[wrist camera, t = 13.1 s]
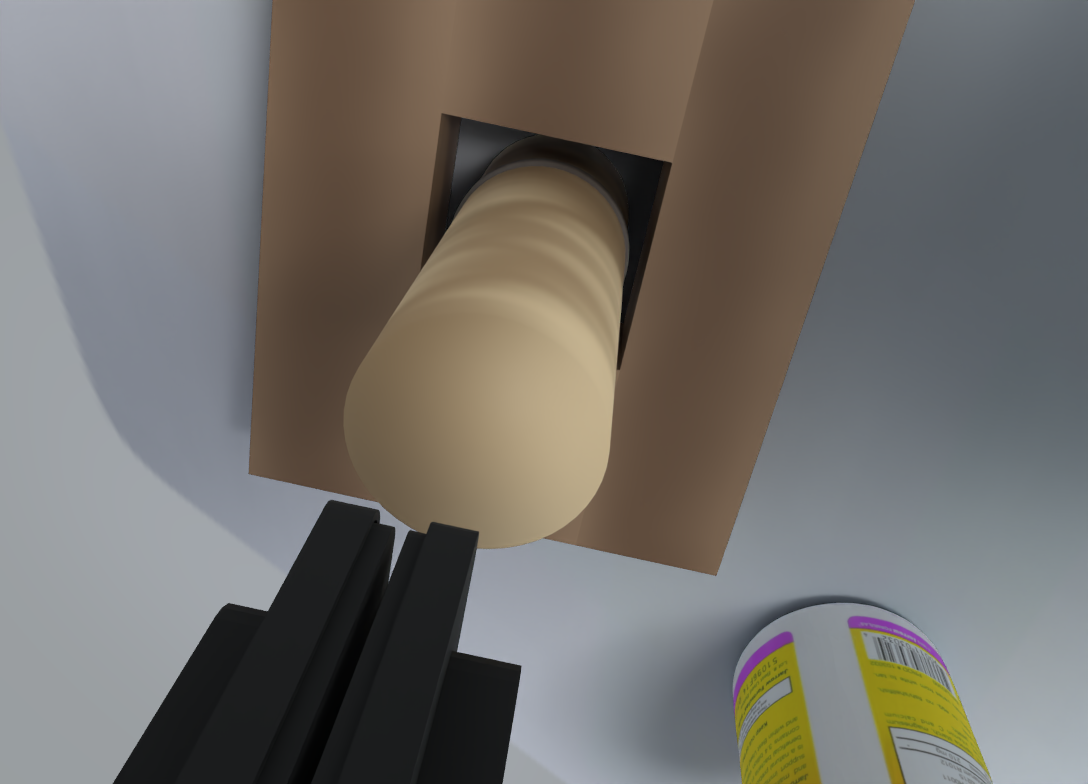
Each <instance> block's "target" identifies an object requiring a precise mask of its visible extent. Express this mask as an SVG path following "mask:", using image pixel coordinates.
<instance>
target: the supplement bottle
mask: <svg viewBox="0 0 1088 784" xmlns="http://www.w3.org/2000/svg"><path fill="white" fill-rule="evenodd" d="M733 703H734V714H735V724H736V733H737V742H738V750H739V759H740V768H741V778H742V784H993V782H992V780H991V777H990V775H989V772H988V769H987V767H986V764H985V762H984V759H983V757H982V754H981V752H980V749H979V747H978V744H977V742H976V739H975V737H974V735H973V732H972V729H971V727H970V724H969V722H968V719H967V717H966V714H965V711H964V709H963V707H962V704H961V701H960V699H959V696H958V694H957V691H956V689H955V687H954V684H953V682H952V679H951V677H950V674H949V672H948V670H947V668H946V666H945V664H944V662H943V660H942V658H941V656H940V654H939V652H938V651H937V649H936V648H935V646H934V645H933V643H932V642H931V641H930V640H929V639H928V638H927V636H926V635H925V634H924V633H923V632H922V631H920V630H919V629H918V628H917V627H916V626H914V625H913V624H912V623H910V622H909V621H907V620H905V619H904V618H902V617H900V616H898V615H896V614H894V613H891V612H889V611H886V610H884V609H881V608H877V607H874V606H869V605H864V604H856V603H830V604H822V605H816V606H811V607H806V608H803V609H800V610H797V611H794V612H791V613H789V614H787V615H784V616H782V617H780V618H778V619H777V620H775V621H773V622H772V623H770V624H769V625H768V626H766V627H765V628H763V629H762V630H761V631H760V632H759V633H758V634H757V635H756V636H755V637H754V638H753V639H752V640H751V641H750V642H749V644H748V645H747V647H746V648H745V649H744V651H743V653H742V654H741V656H740V659H739V661H738V663H737V666H736V670H735V673H734V679H733Z"/></svg>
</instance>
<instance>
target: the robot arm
mask: <svg viewBox="0 0 1088 784" xmlns="http://www.w3.org/2000/svg"><path fill="white" fill-rule="evenodd" d="M379 523H380V512H379V510H376V509H372V508H367V507H362V506H358V505H353V504H348V503H344V502H339V501H334V500H330V501H328V503H327V504H326V506H325V507H324V509H323V511H322V513H321V515H320V516H319V518H318V520H317V522H316V524H315V526H314V527H313V529H312V531H311V533H310V535H309V537H308V538H307V540H306V542H305V544H304V546H303V548H302V549H301V551H300V553H299V555H298V557H297V559H296V561H295V562H294V564H293V566H292V568H291V570H290V572H289V573H288V575H287V577H286V579H285V581H284V583H283V584H282V586H281V588H280V590H279V592H278V594H277V596H276V597H275V599H274V601H273V603H272V605H271V607H270V608H269V610H268V611H263V610H258V609H253V608H249V607H244V606H240V605H235V604H230V603H228V604H227V605H225V606H224V607H222V609H221V610H220V611H219V613H218V614H217V615H216V617H215V618H214V620H213V621H212V623H211V624H210V626H209V628H208V629H207V631H206V633H205V634H204V636H203V637H202V639H201V641H200V642H199V644H198V646H197V647H196V649H195V651H194V652H193V654H192V656H191V657H190V659H189V660H188V662H187V664H186V665H185V667H184V669H183V670H182V672H181V673H180V675H179V677H178V678H177V680H176V682H175V683H174V685H173V686H172V688H171V690H170V691H169V693H168V695H167V696H166V698H165V699H164V701H163V703H162V704H161V706H160V708H159V709H158V711H157V712H156V714H155V716H154V717H153V719H152V721H151V722H150V724H149V725H148V727H147V729H146V730H145V732H144V734H143V735H142V737H141V739H140V740H139V742H138V744H137V745H136V747H135V748H134V750H133V752H132V753H131V755H130V757H129V758H128V760H127V761H126V763H125V765H124V766H123V768H122V770H121V771H120V773H119V774H118V776H117V778H116V779H115V781H114V783H113V784H502V783H503V777H504V771H505V765H506V759H507V753H508V747H509V741H510V735H511V729H512V723H513V717H514V711H515V705H516V699H517V693H518V687H519V681H520V674H521V666H520V665H515V664H511V663H506V662H501V661H497V660H492V659H487V658H483V657H478V656H473V655H469V654H464V653H459V652H457V648H458V643H459V638H460V633H461V628H462V622H463V617H464V612H465V607H466V602H467V596H468V591H469V586H470V581H471V576H472V570H473V565H474V560H475V555H476V550H477V544H478V539H479V531H474V530H470V529H465V528H460V527H456V526H451V525H446V524H442V523H437V522H431V523H430V525H429V528H428V531H427V533H426V534H425V533H420V532H416V531H411V530H410V531H409V532H408V534H407V536H406V539H405V542H404V544H403V547H402V549H401V552H400V555H399V557H398V560H397V562H396V565H395V568H394V570H393V573H392V575H391V578H390V581H389V574H390V567H391V560H392V553H393V546H394V539H395V527H392V526H388V525H383V524H379ZM388 581H389V583H388Z"/></svg>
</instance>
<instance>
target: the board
mask: <svg viewBox="0 0 1088 784" xmlns="http://www.w3.org/2000/svg"><path fill="white" fill-rule="evenodd" d="M914 2H915V0H273V2H272V22H271V42H270V62H269V82H268V101H267V121H266V141H265V161H264V180H263V200H262V220H261V240H260V260H259V279H258V299H257V319H256V339H255V359H254V378H253V398H252V418H251V438H250V457H249V474H251V475H256V476H260V477H265V478H269V479H274V480H279V481H283V482H288V483H292V484H297V485H302V486H306V487H311V488H315V489H320V490H324V491H329V492H334V493H338V494H343V495H347V496H352V497H357V498H361V499H366V500H370V501H375V502H378V501H377V500H376V499H375V498H374V497H373V496H372V495H371V493H370V492H369V491H368V489H367V488H366V487H365V485H364V484H363V482H362V481H361V479H360V477H359V476H358V474H357V472H356V470H355V468H354V466H353V463H352V461H351V458H350V456H349V453H348V449H347V445H346V441H345V434H344V426H343V424H344V407H345V401H346V396H347V392H348V390H349V387H350V384H351V381H352V379H353V377H354V375H355V373H356V371H357V369H358V368H359V366H360V364H361V363H362V361H363V360H364V358H365V357H366V355H367V354H368V352H369V350H370V349H371V347H372V346H373V344H374V343H375V341H376V340H377V338H378V337H379V335H380V333H381V332H382V330H383V329H384V327H385V326H386V324H387V323H388V321H389V319H390V318H391V316H392V315H393V313H394V312H395V310H396V309H397V307H398V306H399V304H400V302H401V301H402V299H403V298H404V296H405V295H406V293H407V292H408V290H409V289H410V287H411V285H412V284H413V282H414V281H415V279H416V278H417V276H418V275H419V273H420V272H421V270H422V268H423V267H424V265H425V264H426V262H427V261H428V259H429V258H430V256H431V254H432V253H433V251H434V250H435V248H436V247H437V245H438V244H439V242H440V241H441V239H442V237H443V236H444V234H445V228H446V221H447V215H448V208H449V201H450V194H451V187H452V180H453V173H454V166H455V159H456V153H457V146H458V139H459V132H460V125H461V118H467V119H471V120H476V121H481V122H485V123H490V124H495V125H499V126H504V127H508V128H513V129H518V130H522V131H527V132H532V133H536V134H541V135H546V136H550V137H555V138H560V139H564V140H569V141H574V142H578V143H583V144H588V145H592V146H597V147H601V148H606V149H611V150H615V151H620V152H625V153H629V154H634V155H639V156H643V157H648V158H653V159H657V160H662V161H664V162H663V166H662V170H661V174H660V178H659V182H658V186H657V190H656V194H655V198H654V202H653V206H652V210H651V214H650V218H649V222H648V226H647V230H646V235H645V239H644V243H643V247H642V251H641V255H640V259H639V263H638V267H637V271H636V275H635V279H634V283H633V287H632V291H631V295H630V299H629V303H628V307H627V311H626V315H625V319H624V323H620V330H619V342H618V354H617V367H616V379H615V391H614V403H613V416H612V428H611V440H610V452H609V458H608V463H607V468H606V471H605V474H604V477H603V480H602V482H601V484H600V486H599V488H598V490H597V492H596V494H595V495H594V497H593V498H592V500H591V501H590V502H589V504H588V505H587V506H586V508H585V509H584V510H583V511H582V512H581V513H580V514H579V515H578V516H577V517H576V518H575V519H573V520H572V521H571V522H569V523H568V524H567V525H566V526H564V527H563V528H561V529H559V530H558V531H556V532H554V533H553V534H551V535H549V536H546V537H544V538H545V539H550V540H554V541H559V542H563V543H568V544H573V545H577V546H582V547H586V548H591V549H595V550H600V551H605V552H609V553H614V554H618V555H623V556H628V557H632V558H637V559H641V560H646V561H651V562H655V563H660V564H664V565H669V566H674V567H678V568H683V569H687V570H692V571H697V572H701V573H706V574H710V575H715V576H716V575H717V572H718V570H719V567H720V564H721V561H722V558H723V555H724V552H725V549H726V546H727V544H728V541H729V538H730V535H731V532H732V529H733V526H734V523H735V520H736V517H737V515H738V512H739V509H740V506H741V503H742V500H743V497H744V494H745V491H746V489H747V486H748V483H749V480H750V477H751V474H752V471H753V468H754V465H755V462H756V460H757V457H758V454H759V451H760V448H761V445H762V442H763V439H764V436H765V433H766V431H767V428H768V425H769V422H770V419H771V416H772V413H773V410H774V407H775V405H776V402H777V399H778V396H779V393H780V390H781V387H782V384H783V381H784V378H785V376H786V373H787V370H788V367H789V364H790V361H791V358H792V355H793V352H794V350H795V347H796V344H797V341H798V338H799V335H800V332H801V329H802V326H803V323H804V321H805V318H806V315H807V312H808V309H809V306H810V303H811V300H812V297H813V295H814V292H815V289H816V286H817V283H818V280H819V277H820V274H821V271H822V268H823V266H824V263H825V260H826V257H827V254H828V251H829V248H830V245H831V242H832V240H833V237H834V234H835V231H836V228H837V225H838V222H839V219H840V216H841V213H842V211H843V208H844V205H845V202H846V199H847V196H848V193H849V190H850V187H851V185H852V182H853V179H854V176H855V173H856V170H857V167H858V164H859V161H860V158H861V156H862V153H863V150H864V147H865V144H866V141H867V138H868V135H869V132H870V129H871V127H872V124H873V121H874V118H875V115H876V112H877V109H878V106H879V103H880V101H881V98H882V95H883V92H884V89H885V86H886V83H887V80H888V77H889V74H890V72H891V69H892V66H893V63H894V60H895V57H896V54H897V51H898V48H899V46H900V43H901V40H902V37H903V34H904V31H905V28H906V25H907V22H908V19H909V17H910V14H911V11H912V8H913V5H914Z"/></svg>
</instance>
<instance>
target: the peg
mask: <svg viewBox="0 0 1088 784" xmlns="http://www.w3.org/2000/svg"><path fill="white" fill-rule="evenodd" d="M628 219H629V204H628V197H627V192H626V188H625V186H624V183H623V181H622V178H621V176H620V175H619V173H618V171H617V169H616V168H615V167H614V165H613V164H612V163H611V161H610V160H609V159H608V158H607V157H606V156H605V155H604V154H603V153H601V152H600V151H599V150H598V149H596V148H595V147H593V146H592V145H588V144H583V143H578V142H574V141H569V140H564V139H560V138H555V137H550V136H546V135H535V136H531V137H527V138H524V139H522V140H519V141H517V142H515V143H513V144H512V145H510V146H508V147H507V148H506V149H504V150H503V151H502V152H501V153H500V154H499V155H498V156H497V157H496V158H495V159H494V160H493V161H492V162H491V164H490V165H489V166H488V168H487V169H486V171H485V172H484V174H483V176H482V177H481V179H480V180H478V181H477V182H476V184H475V185H474V186H473V187H472V188H471V189H470V190H469V191H468V193H467V194H466V196H465V197H464V198H463V200H462V201H461V203H460V205H459V207H458V209H457V211H456V212H455V215H454V218H453V221H452V223H451V225H450V227H449V228H448V230H447V231H446V233H445V234H444V236H443V237H442V239H441V241H440V242H439V244H438V245H437V247H436V248H435V250H434V251H433V253H432V254H431V256H430V258H429V259H428V261H427V262H426V264H425V265H424V267H423V268H422V270H421V272H420V273H419V275H418V276H417V278H416V279H415V281H414V282H413V284H412V285H411V287H410V289H409V290H408V292H407V293H406V295H405V296H404V298H403V299H402V301H401V302H400V304H399V306H398V307H397V309H396V310H395V312H394V313H393V315H392V316H391V318H390V319H389V321H388V323H387V324H386V326H385V327H384V329H383V330H382V332H381V333H380V335H379V337H378V338H377V340H376V341H375V343H374V344H373V346H372V347H371V349H370V350H369V352H368V354H367V355H366V357H365V358H364V360H363V361H362V363H361V364H360V366H359V368H358V369H357V371H356V373H355V375H354V377H353V379H352V381H351V384H350V387H349V390H348V392H347V396H346V401H345V407H344V424H343V426H344V434H345V441H346V445H347V449H348V453H349V456H350V458H351V461H352V463H353V466H354V468H355V470H356V472H357V474H358V476H359V477H360V479H361V481H362V482H363V484H364V485H365V487H366V488H367V489H368V491H369V492H370V493H371V495H372V496H373V497H374V498H375V499H376V500H377V501H378V502H379V503H380V504H381V505H382V507H383V508H385V509H386V510H387V511H388V512H389V513H391V514H392V515H393V516H394V517H395V518H397V519H398V520H400V521H401V522H403V523H404V524H406V525H407V526H409V527H410V528H412V529H414V530H416V531H418V532H420V533H425V534H426V533H427V531H428V528H429V525H430V523H431V522H437V523H442V524H446V525H451V526H456V527H460V528H465V529H470V530H474V531H479V539H478V544H477V548H481V549H496V548H508V547H514V546H520V545H524V544H527V543H531V542H534V541H537V540H539V539H542V538H544V537H546V536H549V535H551V534H553V533H554V532H556V531H558V530H559V529H561V528H563V527H564V526H566V525H567V524H568V523H569V522H571V521H572V520H573V519H575V518H576V517H577V516H578V515H579V514H580V513H581V512H582V511H583V510H584V509H585V508H586V506H587V505H588V504H589V502H590V501H591V500H592V498H593V497H594V495H595V494H596V492H597V490H598V488H599V486H600V484H601V482H602V480H603V477H604V474H605V471H606V468H607V463H608V458H609V452H610V440H611V428H612V416H613V403H614V391H615V379H616V367H617V354H618V342H619V330H620V318H621V305H622V293H623V283H624V279H625V276H626V273H627V268H628V262H629V236H628Z"/></svg>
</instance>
